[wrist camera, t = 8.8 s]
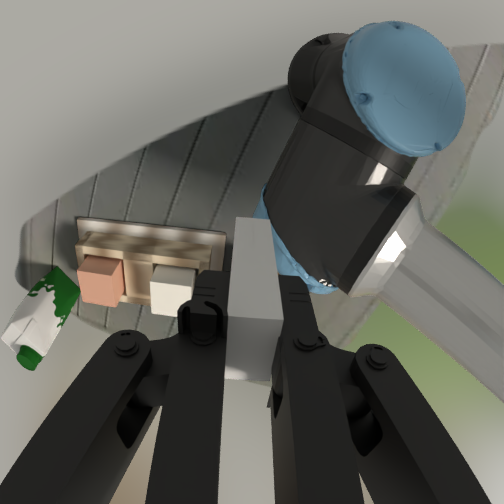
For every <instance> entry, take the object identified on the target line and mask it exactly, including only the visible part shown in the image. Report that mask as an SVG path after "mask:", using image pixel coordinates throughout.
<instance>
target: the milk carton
mask: <svg viewBox="0 0 504 504" xmlns="http://www.w3.org/2000/svg"><path fill="white" fill-rule="evenodd" d="M80 292H81V290H80V288H79V287H78V286H77V285H76V284H75V283H74V282H73V281H71V280H70V279H69V277H68V276H67V275H66V274H65V273H64V272H63V271H62V270H61V269H60V268H59V267H58V266H57V267H56V268H54V269H53V270H52V271H51V272H50V273H48V274H47V275H46V276H45V277H43V278H42V279H41V280H40V281H39V282H38V283H37V284H36V285H35V286H34V287H33V288H32V289H31V291H30V292H29V293H28V294H27V296H26V297H25V298H24V300H23V301H22V302H21V304H20V305H19V306H18V308H17V309H16V311H15V312H14V314H13V315H12V317H11V319H10V321H9V323H8V325H7V327H6V328H5V330H4V332H3V335H2V336H1V339H2V340H3V341H4V342H5V343H6V344H7V345H8V346H9V347H10V348H11V350H12V351H14V352H15V353H16V354H17V360H18V362H19V363H20V364H21V365H22V366H23V367H24V368H26V369H28V370H31V371H34V370H35V368H36V367H37V365H38V363H40V362H41V360H42V358H43V357H44V356H45V355H46V353H47V352H48V350H49V348H50V346H51V344H52V342H53V341H54V339H55V338H56V336H57V334H58V332H59V331H60V329H61V327H62V326H63V324H64V322H65V320H66V319H67V317H68V315H69V314H70V312H71V310H72V308H73V306H74V304H75V302H76V300H77V298H78V296H79V294H80Z"/></svg>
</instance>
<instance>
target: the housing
mask: <svg viewBox="0 0 504 504" xmlns="http://www.w3.org/2000/svg"><path fill="white" fill-rule="evenodd" d="M77 225H78V234H79V241H78V242H77V243H76V244H75V249H76V255H77V262H78V267H80V266H81V264H82V263H83V262H84V260H85V259H86V258H87V256H88V255H89V254H90V255H97V256H104V257H111V258H119V259H123V263H124V274H125V284H126V288H125V290H124V292H123V294H122V296H121V298H120V300H119V301H122V302H128V303H134V304H141V305H147V306H151V293H150V280H151V278H152V275H153V273H154V271H155V268H156V266H157V264H165V265H173V266H181V267H189V268H197V276H198V275H199V274H200V273H201V272H202V271H203V270H215V271H222V266H223V257H224V249H225V240H226V233H222V232H214V231H205V230H196V229H188V228H179V227H170V226H161V225H151V224H142V223H133V222H123V221H113V220H104V219H94V218H84V217H79V218H78V219H77Z"/></svg>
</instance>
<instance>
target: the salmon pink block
mask: <svg viewBox="0 0 504 504" xmlns="http://www.w3.org/2000/svg"><path fill="white" fill-rule="evenodd" d="M77 275H78V280H79V285H80V290H81V295H82V299H83V302H88V303H94V304H99V305H105V306H110V307H116V306H117V304H118V302H119V300H120V298H121V296H122V294H123V292H124V290H125V288H126V284H125V274H124V263H123V259H119V258H111V257H104V256H97V255H90V254H89V255H88V256H87V258H86V259H85V260H84V262H83V263H82V264H81V266H80V267H79V268H78V269H77Z"/></svg>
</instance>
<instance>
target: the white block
mask: <svg viewBox="0 0 504 504" xmlns="http://www.w3.org/2000/svg"><path fill="white" fill-rule="evenodd" d="M196 277H197V268H189V267H181V266H173V265H165V264H157V266H156V268H155V271H154V273H153V275H152V278H151V280H150V293H151V309H152V313H154V314H160V315H167V316H175V317H177V310H178V309H179V307H180V305H182V304H183V303H185V302H186V301H188V300H191V298H192V293H193V289H194V285H195V281H196Z"/></svg>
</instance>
